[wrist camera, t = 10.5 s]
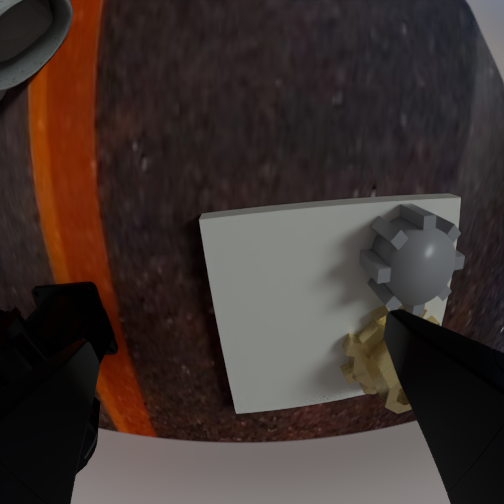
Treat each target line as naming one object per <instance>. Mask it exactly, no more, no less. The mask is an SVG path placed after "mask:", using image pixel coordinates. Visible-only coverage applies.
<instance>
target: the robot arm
mask: <svg viewBox="0 0 504 504" xmlns="http://www.w3.org/2000/svg"><path fill="white" fill-rule="evenodd" d="M88 287H90V288H91V289H92V291H91V290H89V288H88ZM37 292H38V293H37ZM32 294H33V297H34V300H35V302H36V305H37V307H38V308H37V309H36V310H35V311H34V312H33V313H32V314H31V315H30V316H29V317H28V318H27V319H26V321H25V320H24V319H23V318H22V316H21V315H20V314H21V313H20V311H19V310H18V309H17V307H15V308H14V309H13V310H12V311H11V312H9V311H6V312H5V311H2V310H0V504H70V503H71V497H72V492H73V487H74V481H75V476H76V474H77V473H78V472H79V471H80V470H81V469H83V468H84V467H85V466H86V465H87V463H88V461H89V459H90V458H91V457H92V455H93V453H94V451H95V448H96V445H97V438H98V423H99V411H100V401H99V400H98V399H97V398H95V397H94V394H95V389H96V383H97V378H98V373H99V365H100V363H101V361H102V359H103V357H104V355H114V354H116V353H117V351H118V345H117V343H116V340H115V338H114V332H113V330H112V327H111V324H110V322H109V319H108V316H107V313H106V311H105V309H104V308H103V305H102V302H101V300H100V297H99V294H98V290H97V287H96V285H95V284H94V283H92V282H79V283H68V284H57V285H46V286H36V287H35V288H34V289H33V290H32ZM384 341H385V344H386V346H387V349H388V352H389V355H390V357H391V360H392V363H393V366H394V369H395V372H396V375H397V377H398V380H399V382H400V385H401V387H402V389H403V391H404V393H405V395H406V397H407V399H408V402H409V404H410V406H411V408H412V410H413V412H414V415H415V417H416V419H417V421H418V423H419V426H420V428H421V430H422V433H423V435H424V437H425V439H426V442H427V444H428V446H429V449H430V451H431V454H432V456H433V458H434V461H435V463H436V466H437V468H438V471H439V473H440V476H441V478H442V481H443V484H444V486H445V489H446V492H447V495H448V498H449V500H450V503H451V504H504V353H502V352H500V351H498V350H495V349H491V347H488V346H486V345H484V344H481V343H479V342H477V341H475V340H472V339H470V338H468V337H465V336H463V335H461V334H458V333H456V332H454V331H451V330H449V329H447V328H444V327H442V326H440V325H437V324H435V323H433V322H430V321H428V320H426V319H423V318H421V317H419V316H416V315H414V314H412V313H409V312H407V311H405V310H402V309H396V310H391V311H389V312H388V313H387V316H386V322H385V329H384ZM112 348H113V349H112Z"/></svg>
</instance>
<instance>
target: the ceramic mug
mask: <svg viewBox="0 0 504 504" xmlns="http://www.w3.org/2000/svg"><path fill="white" fill-rule="evenodd" d="M72 16H73V10H72V5H71V3H70V0H0V100H1V99H2V98H3V97H4V95H5V93H6V91H7V89H10V88H12V87H14V86H17V85H18V84H20V83H22V82H24V81H25V80H27V79H28V78H29V77H31V76H32V75H33V74H35V73H36V72H37V71H38V70H39V69H40V68H41V67H42V66H44V65H45V64H46V63H47V61H48V60H49V59H50V58H51V57H52V56H53V55H54V53H55V52H56V51H57V50H58V48H59V47H60V45H61V44H62V42H63V41H64V39H65V37H66V35H67V33H68V31H69V28H70V25H71V22H72Z"/></svg>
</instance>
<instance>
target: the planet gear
mask: <svg viewBox="0 0 504 504" xmlns="http://www.w3.org/2000/svg"><path fill="white" fill-rule="evenodd" d="M402 310H405V311H407V310H406V309H405V308H403V309H402ZM388 312H389V310H388V309H387V307H386V306H385V305H382V306H380V307H378V308H377V309H375V310H373V311H371V312H370V314H371V317H372V321H371V322H370V323H369V324H368V325H367V326H365V327H364V328H363V329H362V330H361V331H360V332H359V333H358V334H351V333H348V335H347V337H346V339H345V341H344V343H343V345H342V347H343V349H344V351H345V354H346V356H349V362H348V363H346V364H344V365H342V366H340V368H341V370H342V373H343V375H344V377H345V379H346V381H347V383H348V385H349V384H352V383H354V382H356V381H358V382H360V386H361V388H362V390H363V393H364V394H376V392H377V391H378V394H379V396H380V398H381V400H382V402H383V404H384V406H385V407H386V408H388V409H390V410H392V411H394V412H396V413H401V412H405V411H408V410H411V409H412V408H411V406H410V404H409V402H408V399H407V397H406V395H405V393H404V391H403V389H402V387H401V385H400V382H399V380H398V377H397V375H396V372H395V369H394V366H393V363H392V360H391V357H390V355H389V352H388V349H387V346H386V344H385V341H384V329H385V322H386V316H387V313H388ZM407 312H408V311H407ZM426 312H427V309H426V308H424V313H423V314H422V315H417V316H419V317H421V318H424V316H425V314H426ZM426 320H428V321H430V322H433V323H435V324H437V325H440V323H439V322H438V321H437V320H436V319H435V318H434V317H433V315H432V316H430V317H429V318H427V319H426Z"/></svg>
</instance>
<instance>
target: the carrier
mask: <svg viewBox="0 0 504 504" xmlns="http://www.w3.org/2000/svg"><path fill="white" fill-rule="evenodd" d="M460 202H461V198H460V197H457V196H455V195H452V194H449V193H448V194H423V195H402V196H385V197H369V198H355V199H341V200H329V201H317V202H305V203H294V204H284V205H274V206H264V207H254V208H245V209H236V210H228V211H219V212H211V213H203V214H201V217H200V219H199V223H200V229H201V235H202V242H203V248H204V254H205V260H206V266H207V271H208V277H209V283H210V288H211V294H212V299H213V305H214V310H215V315H216V321H217V326H218V331H219V336H220V341H221V346H222V351H223V356H224V360H225V365H226V370H227V375H228V379H229V384H230V388H231V393H232V397H233V402H234V406H235V411H236V414H238V413H250V412H260V411H270V410H278V409H286V408H293V407H300V406H306V405H313V404H318V403H324V402H330V401H335V400H340V399H345V398H349V397H354V396H359V395H363V394H364V393H363V390H362V388H361V386H360V382H358V381H356V382H354V383H352V384H349V385H348V383H347V381H346V379H345V377H344V375H343V373H342V370H341V368H340V366H342V365H344V364H346V363H348V362H349V356H346V354H345V351H344V349H343V347H342V345H343V343H344V341H345V339H346V337H347V335H348V333H351V334H358V333H359V332H360V331H361V330H362V329H363V328H364V327H365V326H367V325H368V324H369V323H370V322H371V321H372V317H371V314H370V312H371V311H373V310H375V309H377V308H378V307H380V306H382V305H385V306H386V307H387V309H388V310H389V311H391V310H396V309H403V308H405V309H406V310H407V311H408V312H409V313H412V314H414V315H416V316H417V315H422V314H423V313H424V308H426V309H427V312H426V314H425V316H424V318H423V319H427V318H429V317H430V316H432V315H433V317H434V318H435V319H436V320H437V321H438V322H439V323H440V326H441V324H442V320H443V315H444V311H445V307H446V302H447V297H448V295H449V294H450V293H451V292H452V291H451V290H450V282H451V277H452V274H453V271H454V270H458V269H463V264H464V258H465V256H464V255H463V254H461V253H460V252H458V251H457V250H456V244H457V238H458V237H459V235H460V234H461V233H460V231H459V230H458V226H459V215H460Z"/></svg>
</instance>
